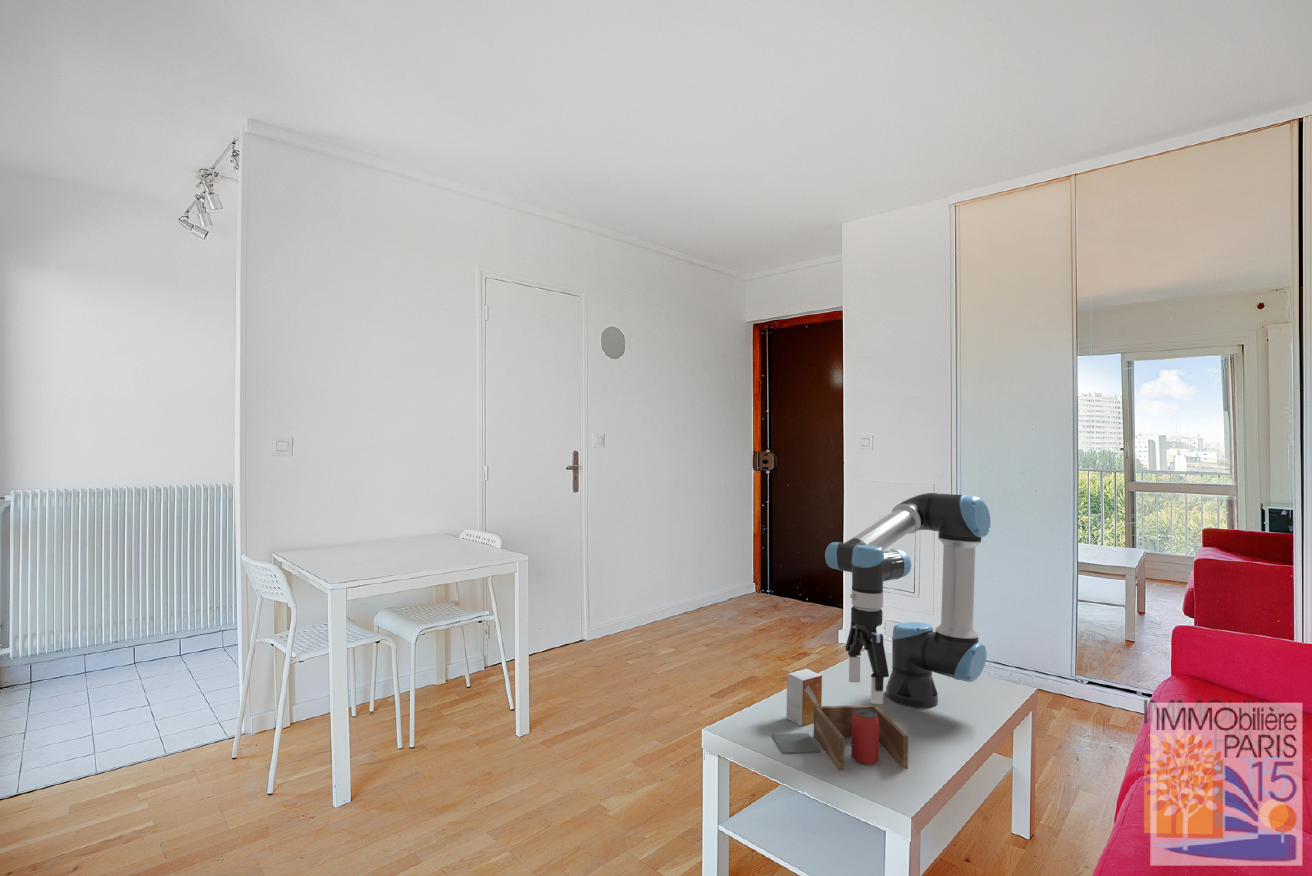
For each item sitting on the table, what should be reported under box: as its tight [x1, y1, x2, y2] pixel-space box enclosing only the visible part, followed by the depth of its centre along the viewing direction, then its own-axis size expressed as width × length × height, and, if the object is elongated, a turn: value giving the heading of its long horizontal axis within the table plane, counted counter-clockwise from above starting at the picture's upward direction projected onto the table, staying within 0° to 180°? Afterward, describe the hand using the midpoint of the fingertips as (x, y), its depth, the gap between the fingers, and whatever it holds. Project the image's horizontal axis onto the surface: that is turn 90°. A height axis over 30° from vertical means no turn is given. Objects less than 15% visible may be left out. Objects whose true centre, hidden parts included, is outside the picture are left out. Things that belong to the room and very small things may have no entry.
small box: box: [785, 668, 823, 727], centre depth 182 cm, size 8×6×13 cm
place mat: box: [771, 732, 822, 755], centre depth 167 cm, size 10×10×1 cm
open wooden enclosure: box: [813, 704, 909, 772], centre depth 163 cm, size 17×18×8 cm
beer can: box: [850, 707, 880, 766], centre depth 159 cm, size 7×7×12 cm
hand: (865, 692), depth 159 cm, fingers open, 13 cm apart
